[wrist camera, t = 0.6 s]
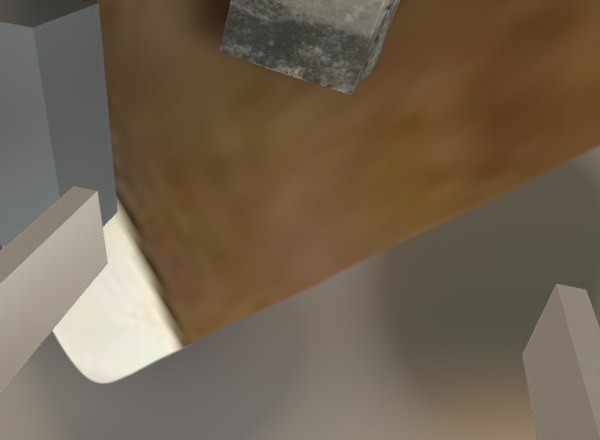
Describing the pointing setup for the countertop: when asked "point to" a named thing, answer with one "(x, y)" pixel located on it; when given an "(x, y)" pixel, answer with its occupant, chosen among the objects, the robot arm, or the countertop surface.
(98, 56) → the block
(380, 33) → the stone block
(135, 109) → the countertop surface
